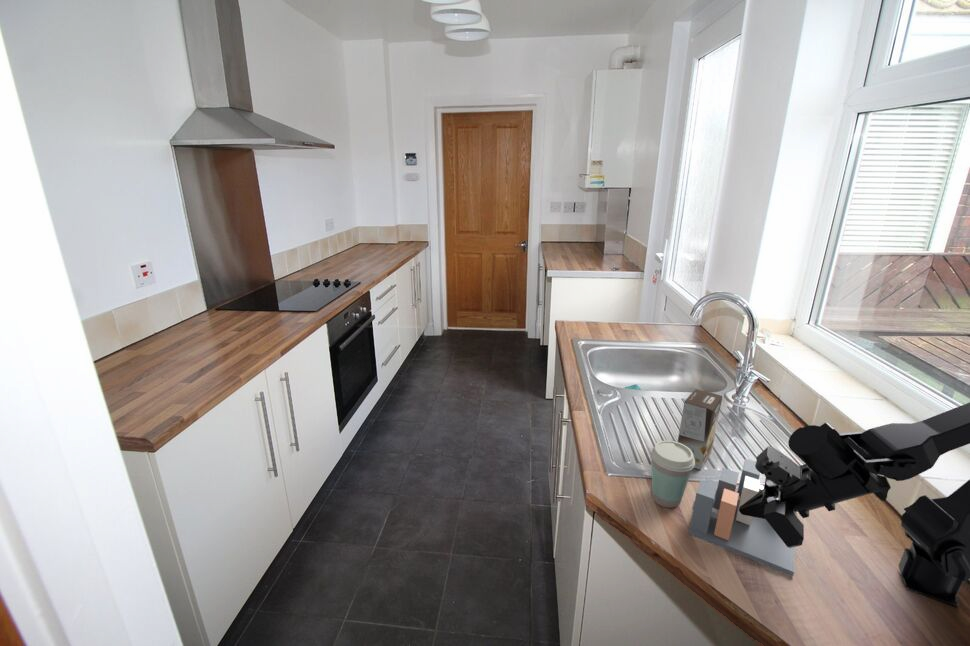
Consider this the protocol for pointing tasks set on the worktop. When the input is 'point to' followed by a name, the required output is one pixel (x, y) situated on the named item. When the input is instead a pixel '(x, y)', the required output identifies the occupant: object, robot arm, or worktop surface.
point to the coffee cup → (670, 472)
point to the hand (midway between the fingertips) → (740, 511)
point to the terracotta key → (725, 514)
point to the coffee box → (700, 424)
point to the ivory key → (747, 497)
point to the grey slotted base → (739, 523)
